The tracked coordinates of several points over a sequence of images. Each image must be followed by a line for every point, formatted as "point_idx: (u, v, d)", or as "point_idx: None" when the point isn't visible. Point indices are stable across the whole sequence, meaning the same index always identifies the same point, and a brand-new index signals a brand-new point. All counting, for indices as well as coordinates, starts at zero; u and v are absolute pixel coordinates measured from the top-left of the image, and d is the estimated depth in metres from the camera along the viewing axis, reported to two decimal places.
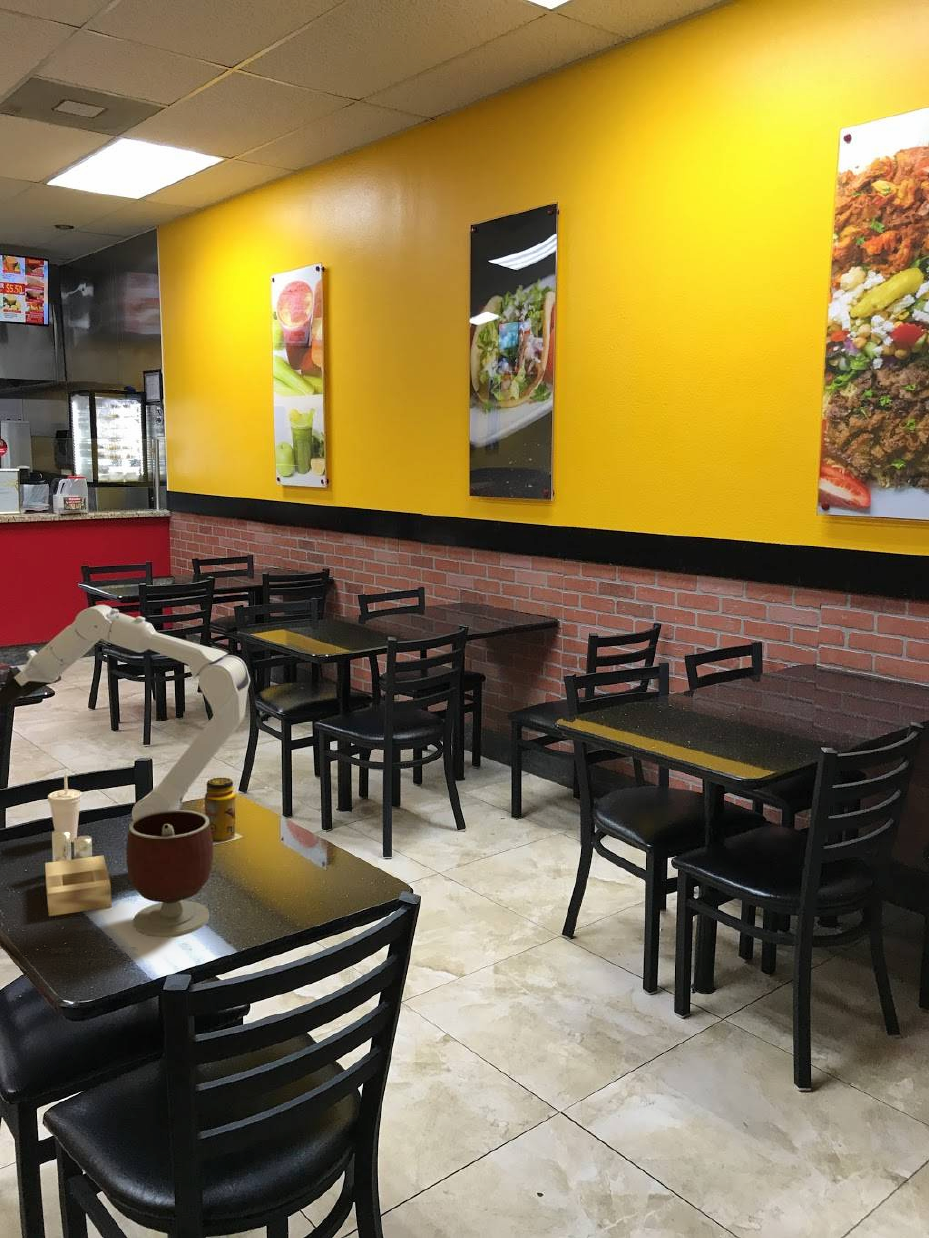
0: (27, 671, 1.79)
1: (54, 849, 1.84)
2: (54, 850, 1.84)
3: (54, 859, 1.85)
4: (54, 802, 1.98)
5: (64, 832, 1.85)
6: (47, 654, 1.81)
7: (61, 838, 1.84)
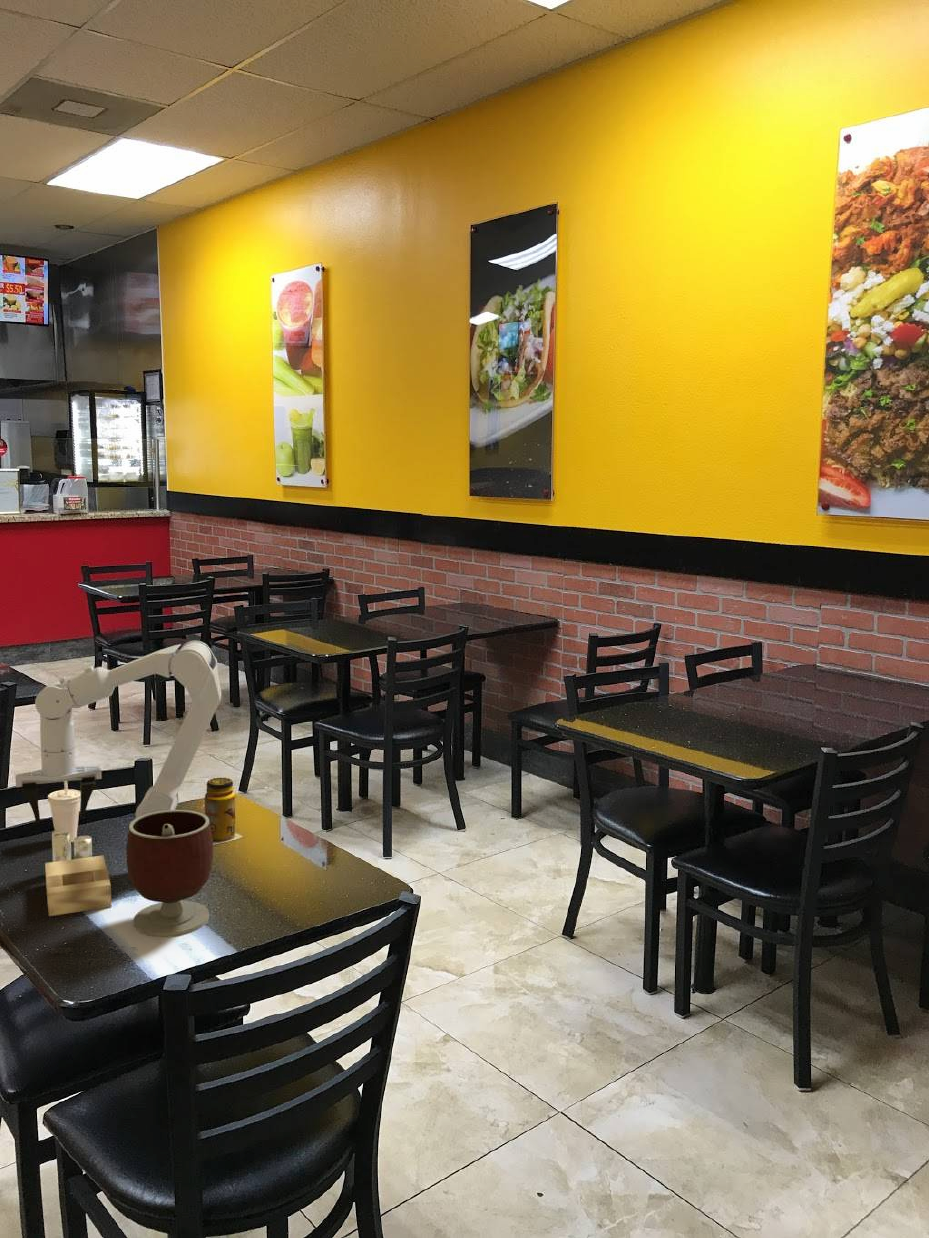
0: None
1: (54, 849, 1.84)
2: (54, 850, 1.84)
3: (54, 859, 1.85)
4: (54, 802, 1.98)
5: (64, 832, 1.85)
6: None
7: (61, 838, 1.84)
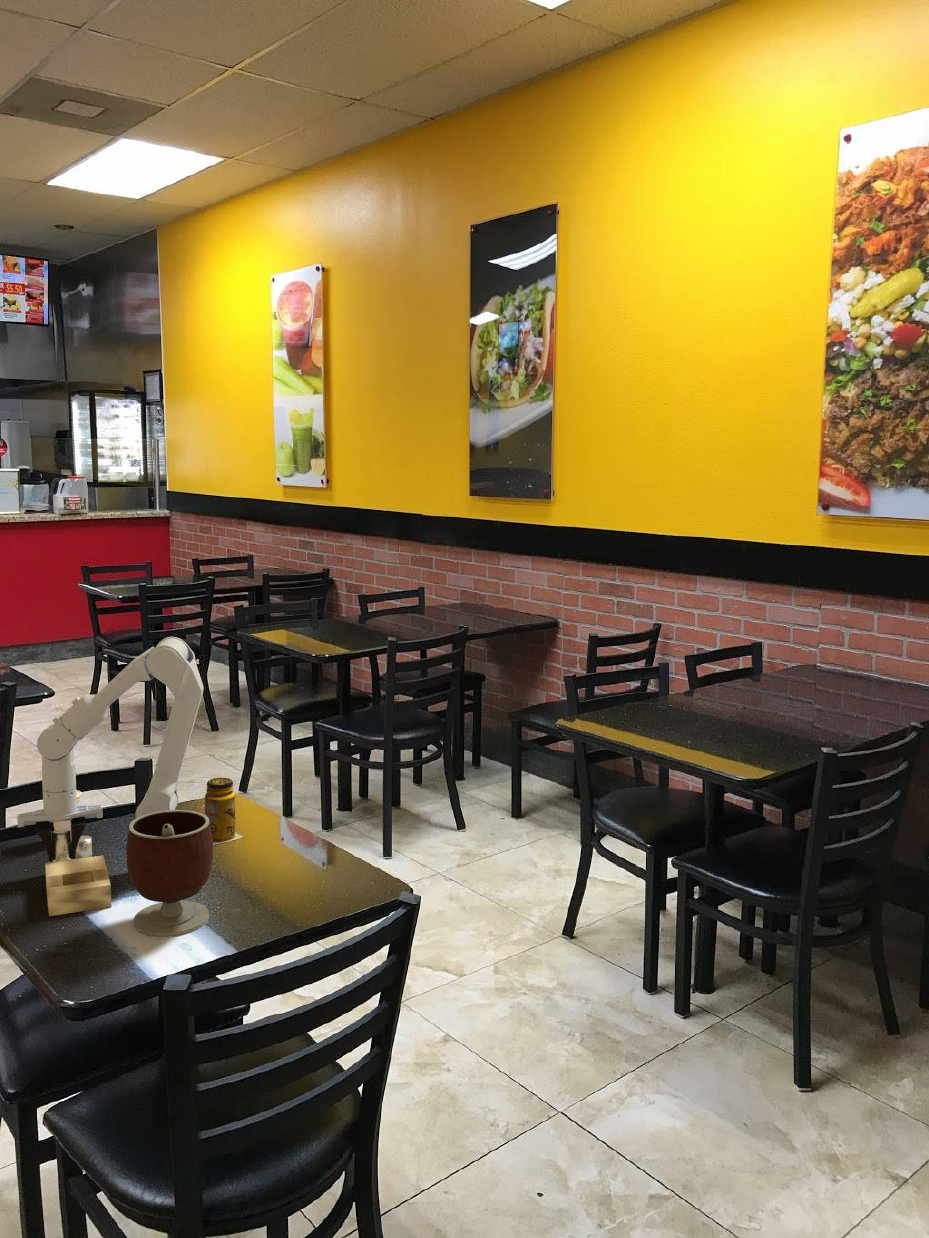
0: None
1: (54, 849, 1.84)
2: (54, 850, 1.84)
3: (54, 859, 1.85)
4: None
5: (64, 832, 1.85)
6: None
7: (61, 838, 1.84)
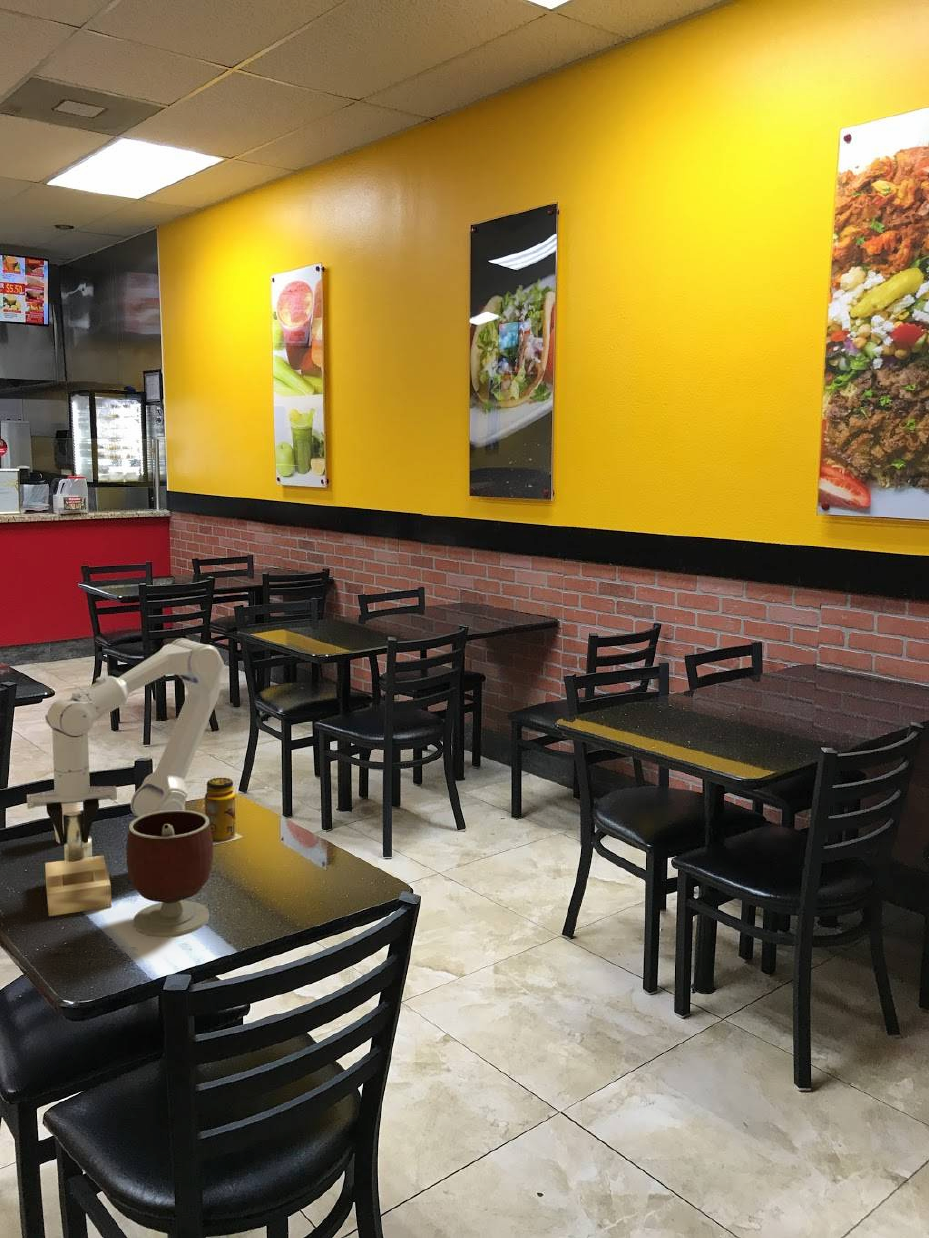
0: None
1: (66, 832, 1.74)
2: (66, 833, 1.74)
3: (66, 843, 1.74)
4: None
5: (77, 815, 1.75)
6: None
7: (73, 820, 1.73)
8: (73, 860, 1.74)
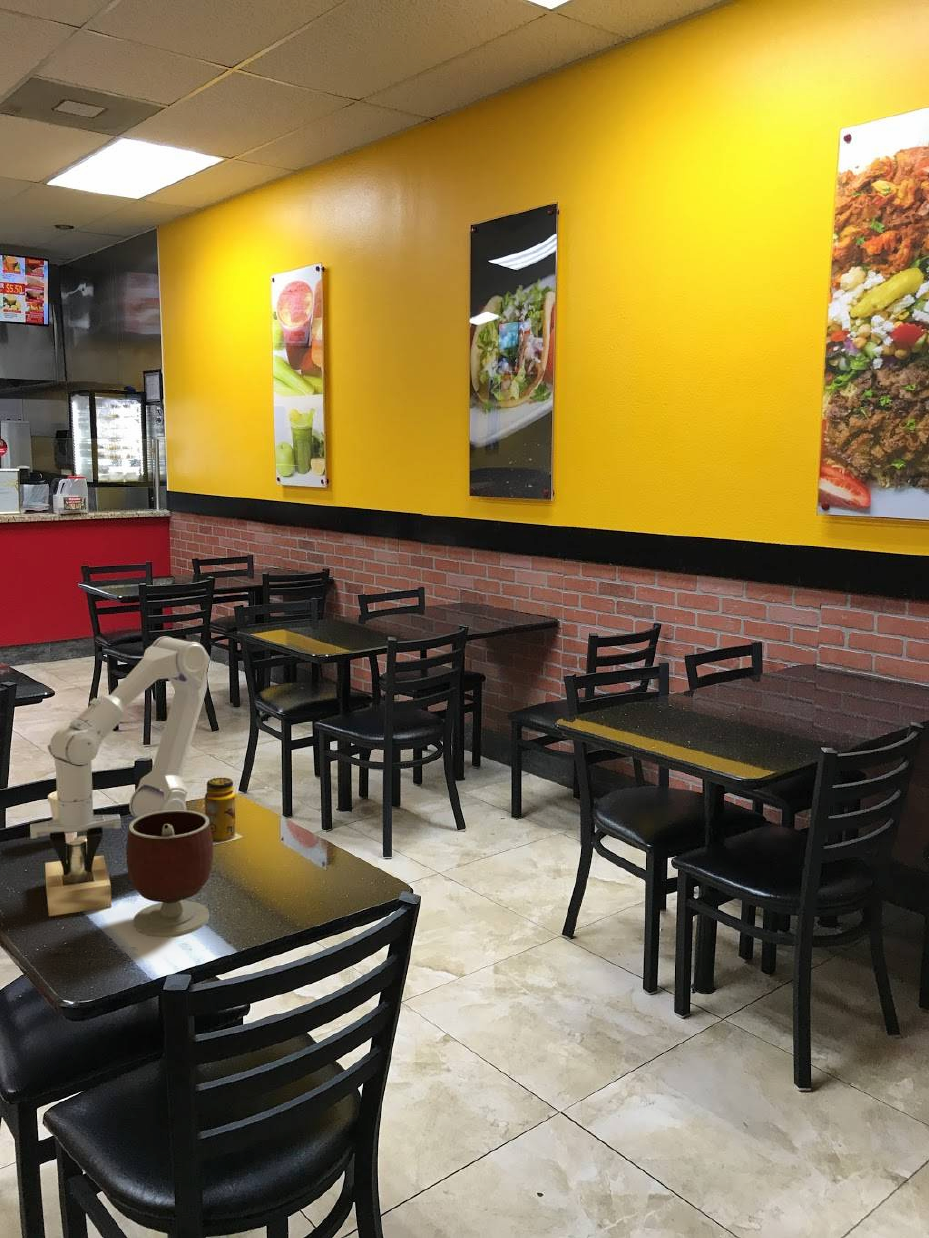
0: None
1: (69, 862, 1.73)
2: (69, 863, 1.73)
3: (69, 872, 1.73)
4: (54, 802, 1.98)
5: (80, 844, 1.74)
6: None
7: (76, 850, 1.72)
8: None
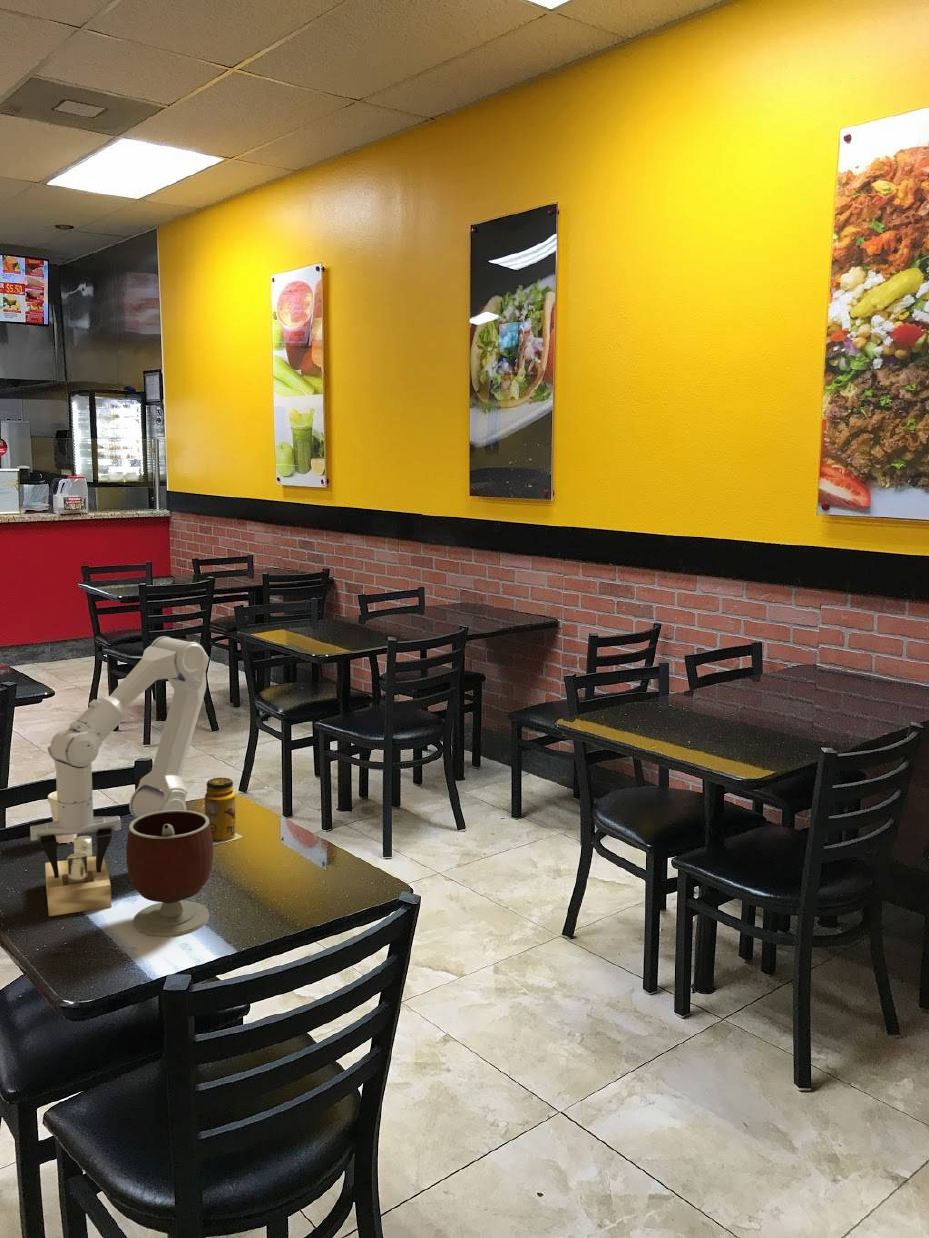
0: None
1: (70, 874, 1.73)
2: (70, 875, 1.73)
3: None
4: (54, 802, 1.98)
5: (81, 856, 1.74)
6: None
7: (77, 862, 1.73)
8: None
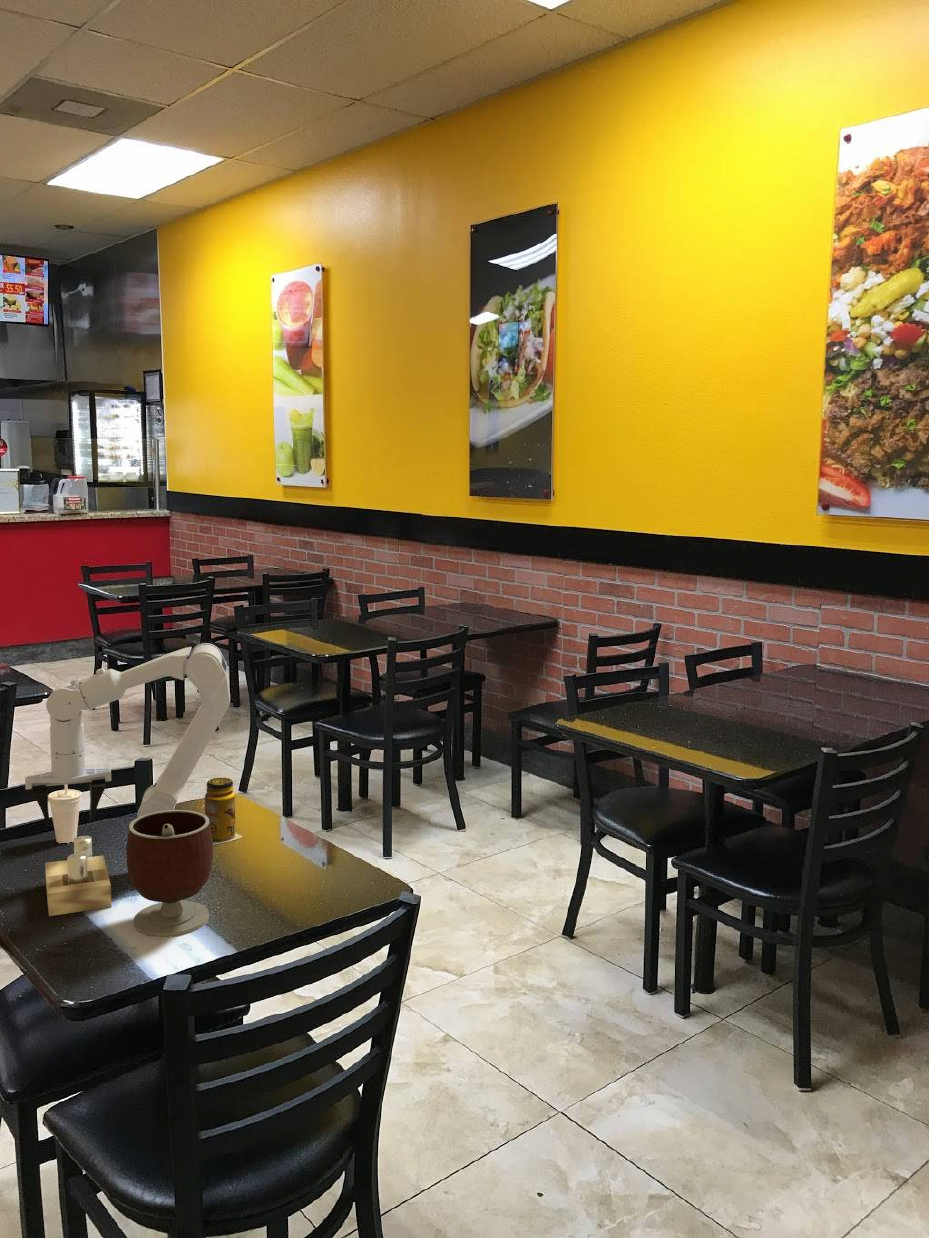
0: None
1: (70, 874, 1.73)
2: (70, 875, 1.73)
3: None
4: (54, 802, 1.98)
5: (81, 856, 1.74)
6: None
7: (77, 862, 1.73)
8: None
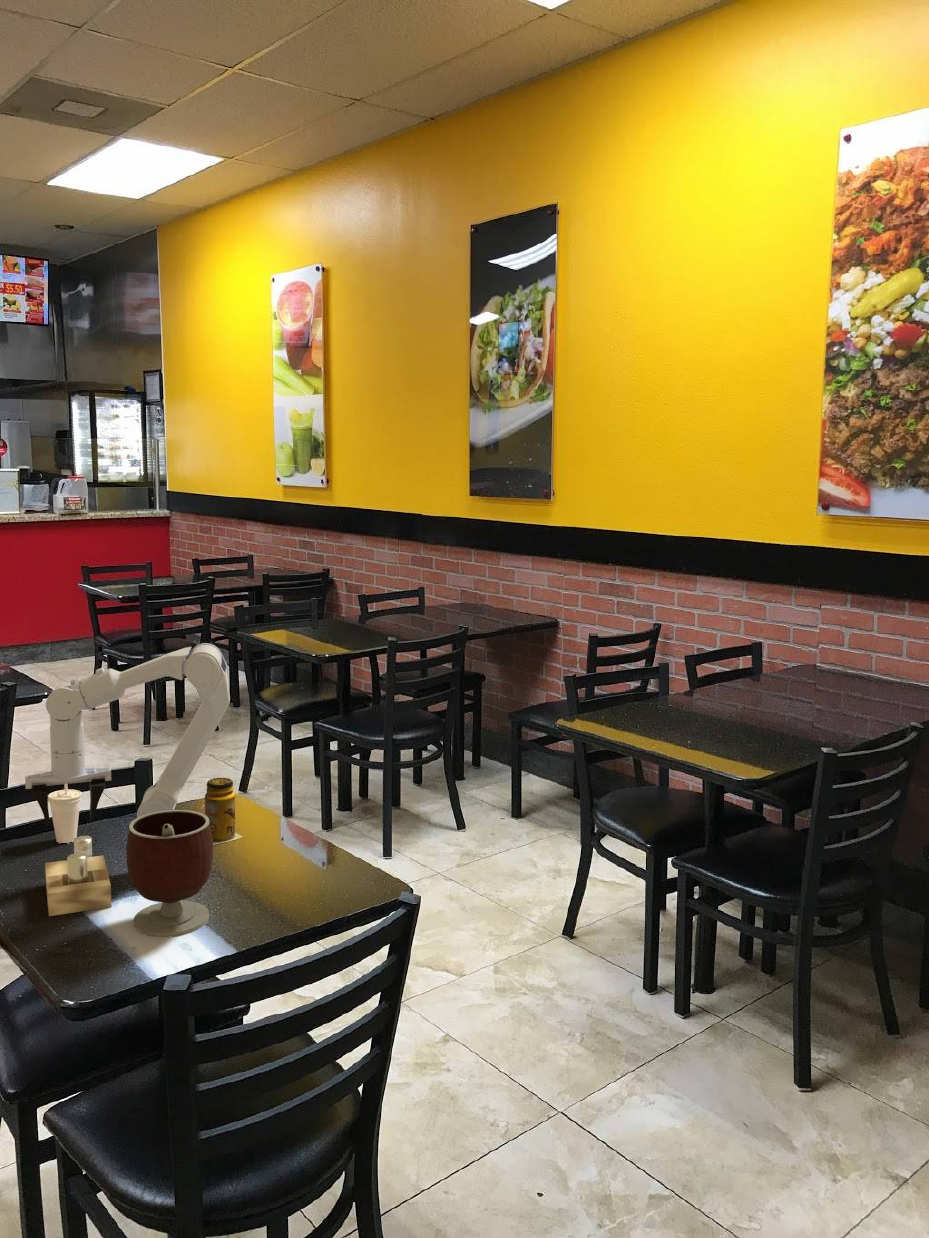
0: None
1: (70, 874, 1.73)
2: (70, 875, 1.73)
3: None
4: (54, 802, 1.98)
5: (81, 856, 1.74)
6: None
7: (77, 862, 1.73)
8: None
